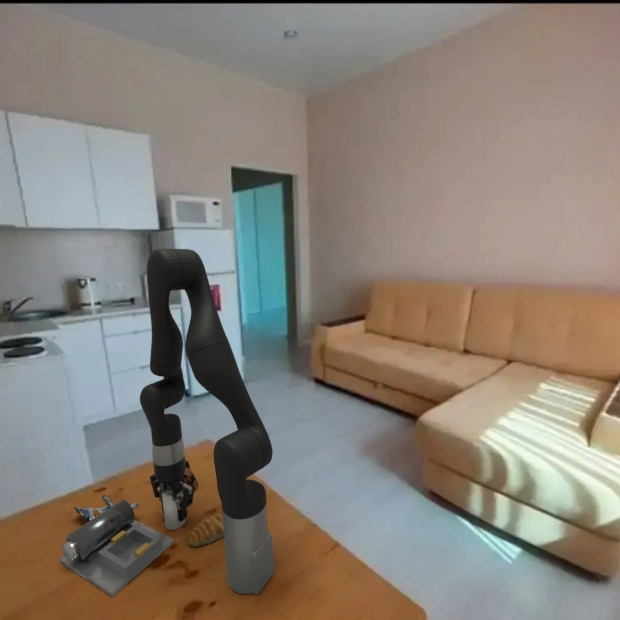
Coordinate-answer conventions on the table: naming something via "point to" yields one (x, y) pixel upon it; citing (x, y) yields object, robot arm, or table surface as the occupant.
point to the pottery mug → (190, 475)
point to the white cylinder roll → (171, 511)
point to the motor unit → (113, 548)
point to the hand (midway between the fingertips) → (174, 515)
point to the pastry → (207, 531)
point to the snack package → (88, 511)
